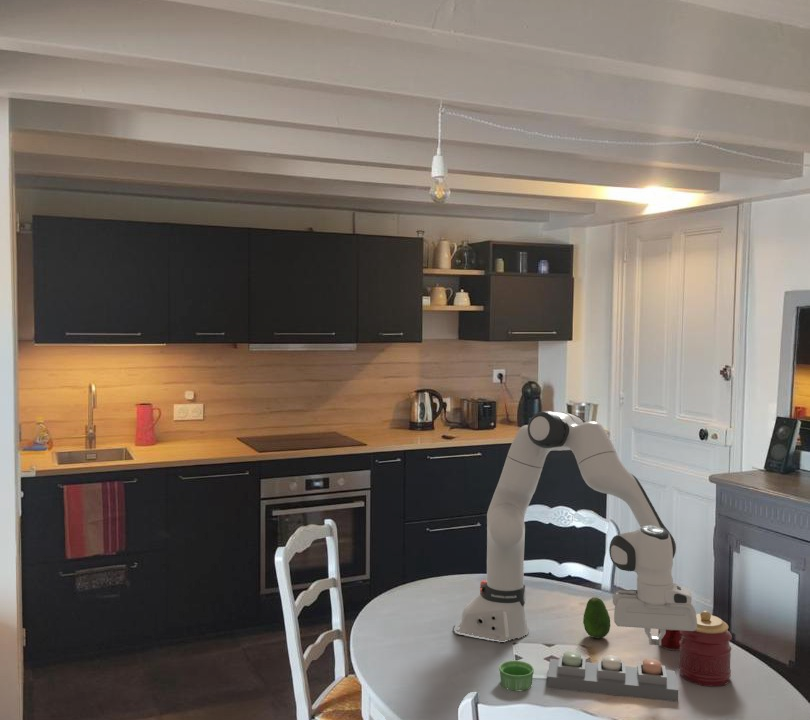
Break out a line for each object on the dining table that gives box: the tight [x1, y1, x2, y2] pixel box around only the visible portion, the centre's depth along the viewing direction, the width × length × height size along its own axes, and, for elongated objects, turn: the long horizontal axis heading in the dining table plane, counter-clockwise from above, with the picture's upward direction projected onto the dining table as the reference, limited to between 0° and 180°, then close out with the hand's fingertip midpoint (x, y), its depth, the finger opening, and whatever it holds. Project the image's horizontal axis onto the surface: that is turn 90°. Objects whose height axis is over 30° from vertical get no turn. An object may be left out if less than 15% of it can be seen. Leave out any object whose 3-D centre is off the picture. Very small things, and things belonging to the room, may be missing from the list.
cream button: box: [602, 654, 622, 671], centre depth 209 cm, size 5×5×2 cm
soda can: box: [657, 629, 681, 651], centre depth 233 cm, size 7×7×12 cm
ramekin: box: [498, 660, 535, 691], centre depth 210 cm, size 9×9×4 cm
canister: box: [678, 610, 733, 687], centre depth 214 cm, size 13×13×18 cm
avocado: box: [582, 596, 611, 639], centre depth 239 cm, size 8×8×12 cm
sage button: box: [562, 651, 582, 667], centre depth 212 cm, size 5×5×2 cm
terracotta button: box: [642, 658, 662, 675], centre depth 207 cm, size 5×5×2 cm
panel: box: [546, 655, 679, 703], centre depth 209 cm, size 32×11×5 cm, turn 76°
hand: (655, 644), depth 207 cm, fingers closed
